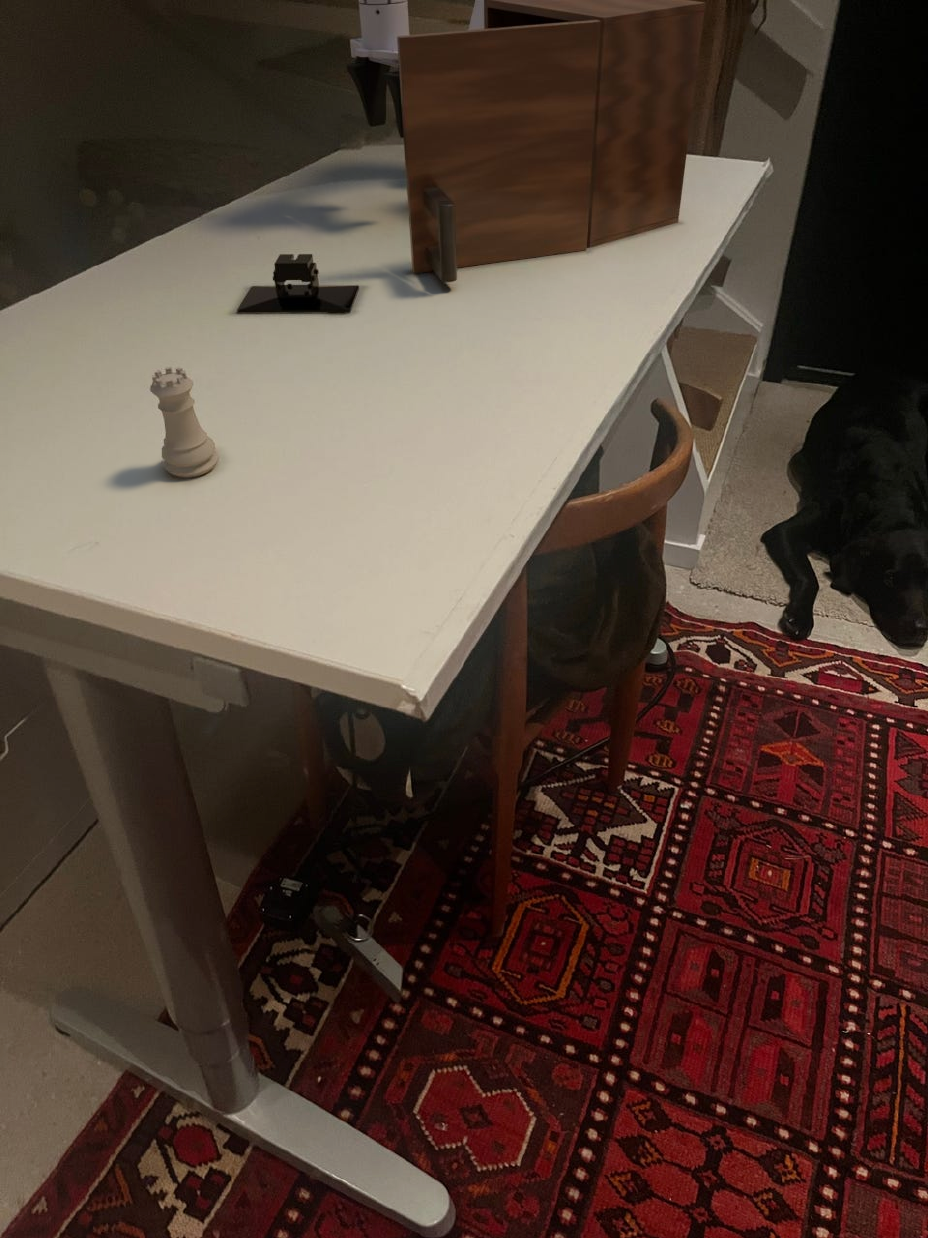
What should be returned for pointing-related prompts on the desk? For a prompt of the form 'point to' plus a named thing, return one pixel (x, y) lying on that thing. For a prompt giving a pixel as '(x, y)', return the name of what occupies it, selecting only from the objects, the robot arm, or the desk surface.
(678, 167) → the cupboard
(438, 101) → the cupboard door
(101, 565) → the desk surface
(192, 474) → the rook chess piece
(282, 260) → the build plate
